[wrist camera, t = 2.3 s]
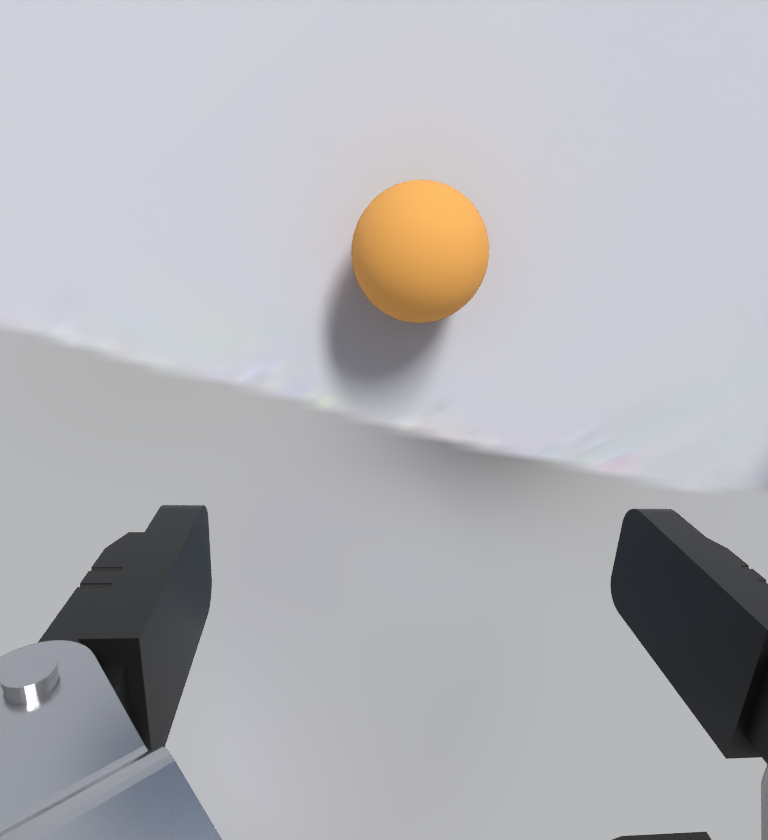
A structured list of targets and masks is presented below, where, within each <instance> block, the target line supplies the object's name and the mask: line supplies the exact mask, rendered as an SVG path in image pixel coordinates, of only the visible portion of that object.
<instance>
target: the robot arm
mask: <svg viewBox="0 0 768 840" xmlns="http://www.w3.org/2000/svg"><path fill="white" fill-rule="evenodd" d="M211 587H212V578H211V560H210V542H209V526H208V513H207V509H206V507H205V506H204V505H203V506H202V505H201V506H199V505H192V506H191V505H163V506H161V507H160V508H159V510H158V512H157V513H156V515H155V517H154V518H153V520H152V521H151V523H150V524H149V526H148V528H147V529H146V531H145V532H144V533H143V532H135V533H134V532H129V533H127V534H126V535H124V536H123V537H121V538H120V539H118V540H117V541H115V542H114V543H113V544H111V545H109V546H108V547H107V548H105V549H104V551H103V552H102V553H101V555H100V556H99V558H98V559H97V560H96V562H95V563H94V565H93V566H92V570H91V571H89V572H88V573H87V574H86V576H85V577H84V579H83V580H82V582H81V583H80V587H77V589H76V590H75V591H74V593H73V594H72V596H71V597H70V598H69V600H68V601H67V603H66V604H65V605H64V607H63V608H62V610H61V611H60V612H59V614H58V615H57V617H56V618H55V619H54V621H53V622H52V624H51V625H50V626H49V628H48V629H47V631H46V632H45V633H44V635H43V636H42V638H41V639H40V640H39V642H38V643H35V644H31V645H27V646H24V647H21V648H18V649H16V650H14V651H11V652H9V653H7V654H5V655H3V656H1V657H0V840H222V839H221V837H220V835H219V834H218V832H217V830H216V829H215V828H214V825H213V824H212V822H211V821H210V819H209V817H208V815H207V814H206V812H205V810H204V809H203V807H202V805H201V804H200V802H199V800H198V799H197V797H196V795H195V794H194V792H193V790H192V789H191V787H190V785H189V784H188V782H187V780H186V779H185V777H184V775H183V773H182V772H181V770H180V769H179V767H178V765H177V763H176V762H175V760H174V759H173V757H172V756H171V754H170V753H169V752H168V750H167V749H166V748H165V744H166V741H167V738H168V735H169V732H170V729H171V726H172V722H173V720H174V716H175V713H176V710H177V707H178V704H179V701H180V698H181V695H182V692H183V689H184V686H185V683H186V680H187V677H188V674H189V671H190V668H191V665H192V662H193V658H194V655H195V652H196V649H197V646H198V643H199V640H200V637H201V634H202V631H203V628H204V625H205V622H206V619H207V615H208V612H209V607H210V600H211ZM611 594H612V599H613V602H614V605H615V607H616V609H617V611H618V612H619V614H620V615H621V616H622V618H623V619H624V621H625V622H626V623H627V625H628V626H629V627H630V629H631V630H632V631H633V633H634V634H635V635H636V637H637V638H638V640H639V641H640V642H641V644H642V645H643V646H644V648H645V649H646V650H647V652H648V653H649V654H650V656H651V657H652V659H653V660H654V661H655V662H656V664H657V665H658V667H659V668H660V669H661V671H662V672H663V673H664V675H665V676H666V677H667V679H668V680H669V681H670V683H671V684H672V686H673V687H674V688H675V690H676V691H677V692H678V694H679V695H680V696H681V698H682V699H683V701H684V702H685V703H686V705H687V706H688V707H689V708H690V710H691V711H692V713H693V714H694V715H695V717H696V718H697V719H698V721H699V722H700V724H701V725H702V726H703V728H704V729H705V730H706V732H707V733H708V734H709V736H710V737H711V738H712V740H713V741H714V742H715V744H716V745H717V747H718V748H719V749H720V751H721V752H722V753H723V755H724V756H725V757H726V758H751V757H762V758H763V759H764V760H765V761H766V763H767V767H766V770H765V772H764V776H763V778H762V783H761V823H762V824H761V827H762V828H761V833H762V835H761V837H762V840H768V584H767V583H766V580H765V579H764V578H763V577H762V576H761V575H759V574H758V573H757V572H756V571H754V570H753V569H749V568H748V565H747V564H746V563H745V562H743V561H742V560H741V559H740V558H739V557H737V556H736V555H735V554H734V553H732V552H731V551H730V550H729V549H727V548H725V547H724V546H722V545H720V544H718V543H716V542H714V541H712V540H710V539H708V538H706V537H705V536H704V535H702V534H701V533H700V532H699V531H698V530H697V529H695V528H694V527H693V526H692V525H691V524H689V523H688V522H687V521H686V520H685V519H684V518H682V517H681V516H680V515H679V514H678V513H676V512H675V511H673V510H671V509H631V510H629V511H628V512H627V513H626V515H625V517H624V519H623V523H622V528H621V533H620V537H619V542H618V547H617V552H616V557H615V561H614V566H613V571H612V576H611ZM613 840H711V839H710V837H709V835H708V834H707V832H693V833H674V834H657V835H636V836H622V837H619V838H616V839H613Z"/></svg>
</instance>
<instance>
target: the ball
mask: <svg viewBox="0 0 768 840" xmlns="http://www.w3.org/2000/svg"><path fill="white" fill-rule="evenodd" d="M351 254H352V265H353V270H354V273H355V276H356V279H357V282H358V284H359V286H360V288H361V289H362V291H363V293H364V294H365V296H366V297H367V298H368V299H369V300H370V302H371V303H372V304H373V305H374V306H376V307H377V308H378V309H379V310H381V311H382V312H383V313H385V314H387V315H389V316H391V317H393V318H395V319H398V320H401V321H406V322H412V323H426V322H432V321H437V320H440V319H443V318H445V317H448V316H450V315H452V314H453V313H455V312H456V311H458V310H460V309H461V308H462V307H463V306H464V305H466V304H467V302H468V301H469V300H470V299H471V298H472V297H473V296H474V294H475V293H476V292H477V290H478V288H479V287H480V285H481V283H482V281H483V278H484V276H485V273H486V269H487V265H488V259H489V242H488V236H487V231H486V227H485V225H484V222H483V220H482V218H481V216H480V214H479V212H478V210H477V209H476V208H475V206H474V205H473V204H472V203H471V202H470V200H469V199H468V198H467V197H466V196H464V195H463V194H462V193H460V192H459V191H458V190H456V189H454V188H452V187H451V186H448V185H446V184H443V183H440V182H436V181H431V180H412V181H407V182H403V183H400V184H397V185H394V186H392V187H390V188H388V189H387V190H385V191H384V192H382V193H381V194H379V195H378V196H377V197H376V198H375V199H374V200H373V201H372V202H371V203H370V204H369V205H368V207H367V208H366V209H365V211H364V212H363V214H362V215H361V217H360V219H359V221H358V223H357V226H356V229H355V232H354V235H353V241H352V251H351Z"/></svg>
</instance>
